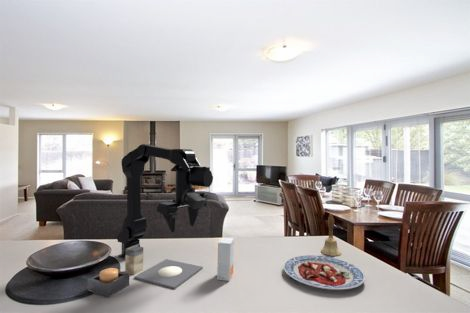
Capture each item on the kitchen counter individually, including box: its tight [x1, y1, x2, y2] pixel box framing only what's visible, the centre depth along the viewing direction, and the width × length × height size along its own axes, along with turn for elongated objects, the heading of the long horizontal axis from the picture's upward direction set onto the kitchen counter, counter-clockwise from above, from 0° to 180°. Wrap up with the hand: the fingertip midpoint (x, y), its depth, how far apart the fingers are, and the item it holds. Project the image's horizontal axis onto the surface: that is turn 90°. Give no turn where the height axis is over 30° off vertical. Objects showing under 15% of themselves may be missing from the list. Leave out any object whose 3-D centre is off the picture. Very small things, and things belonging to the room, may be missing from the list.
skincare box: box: [216, 237, 235, 282], centre depth 87 cm, size 6×4×12 cm
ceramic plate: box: [283, 254, 366, 291], centre depth 89 cm, size 26×26×3 cm
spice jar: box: [124, 245, 144, 276], centre depth 90 cm, size 4×4×8 cm
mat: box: [133, 258, 204, 290], centre depth 89 cm, size 16×16×1 cm
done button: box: [99, 267, 119, 283], centre depth 79 cm, size 5×5×2 cm
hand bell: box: [320, 213, 342, 257], centre depth 111 cm, size 8×8×16 cm
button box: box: [86, 270, 130, 299], centre depth 79 cm, size 8×8×4 cm
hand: (182, 229), depth 93 cm, fingers open, 9 cm apart
